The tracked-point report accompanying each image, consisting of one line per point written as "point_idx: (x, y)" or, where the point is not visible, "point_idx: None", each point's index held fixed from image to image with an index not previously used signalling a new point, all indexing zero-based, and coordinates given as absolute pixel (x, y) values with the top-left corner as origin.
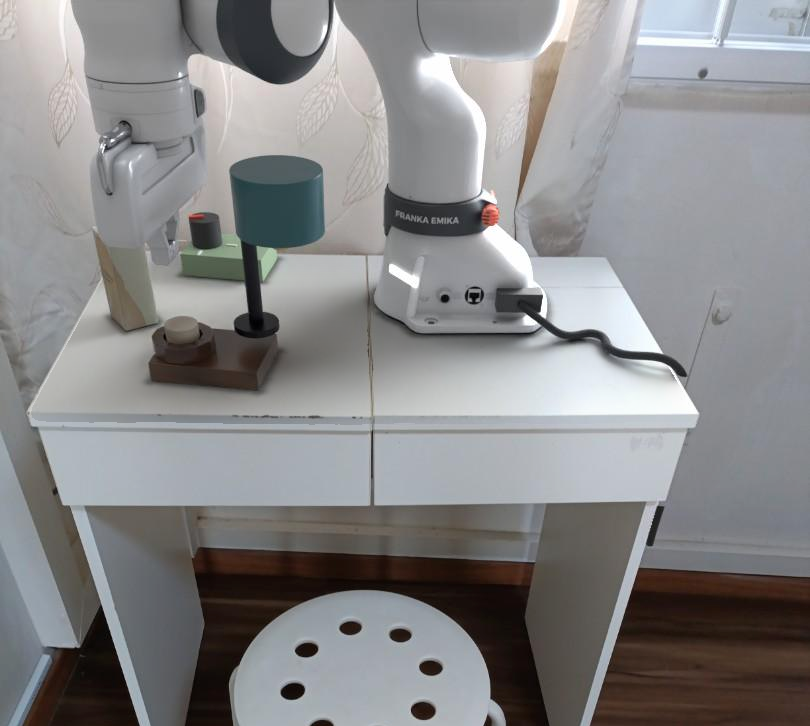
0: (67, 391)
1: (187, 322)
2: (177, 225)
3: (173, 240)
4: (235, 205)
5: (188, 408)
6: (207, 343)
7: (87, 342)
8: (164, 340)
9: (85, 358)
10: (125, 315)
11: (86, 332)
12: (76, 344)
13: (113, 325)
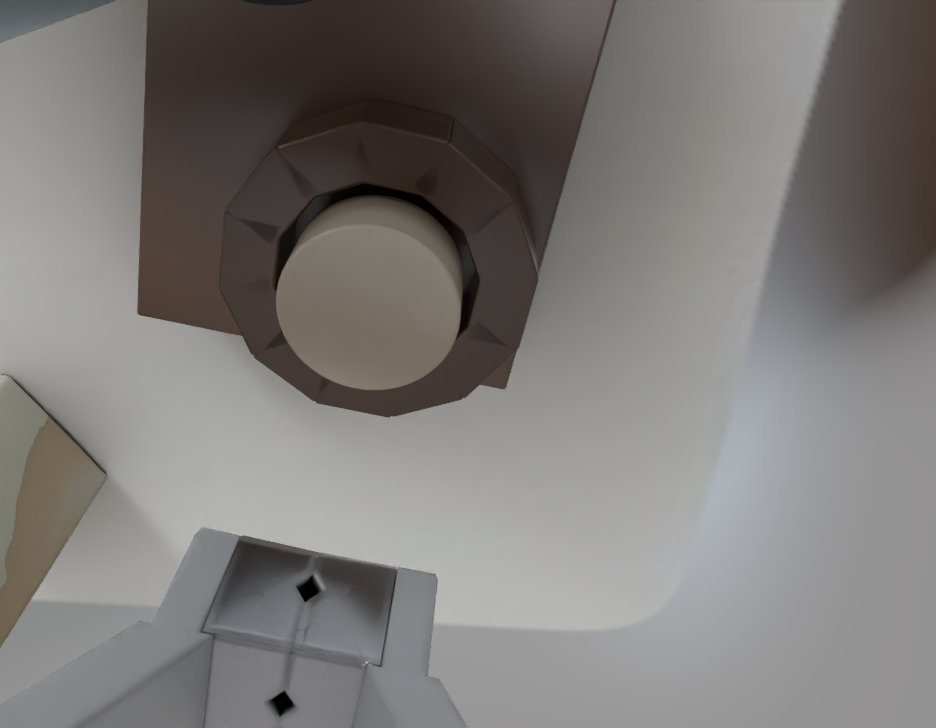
0: (555, 584)
1: (359, 280)
2: (71, 705)
3: (212, 643)
4: (66, 3)
5: (748, 182)
6: (462, 148)
7: None
8: None
9: None
10: (75, 512)
11: (138, 590)
12: None
13: None
